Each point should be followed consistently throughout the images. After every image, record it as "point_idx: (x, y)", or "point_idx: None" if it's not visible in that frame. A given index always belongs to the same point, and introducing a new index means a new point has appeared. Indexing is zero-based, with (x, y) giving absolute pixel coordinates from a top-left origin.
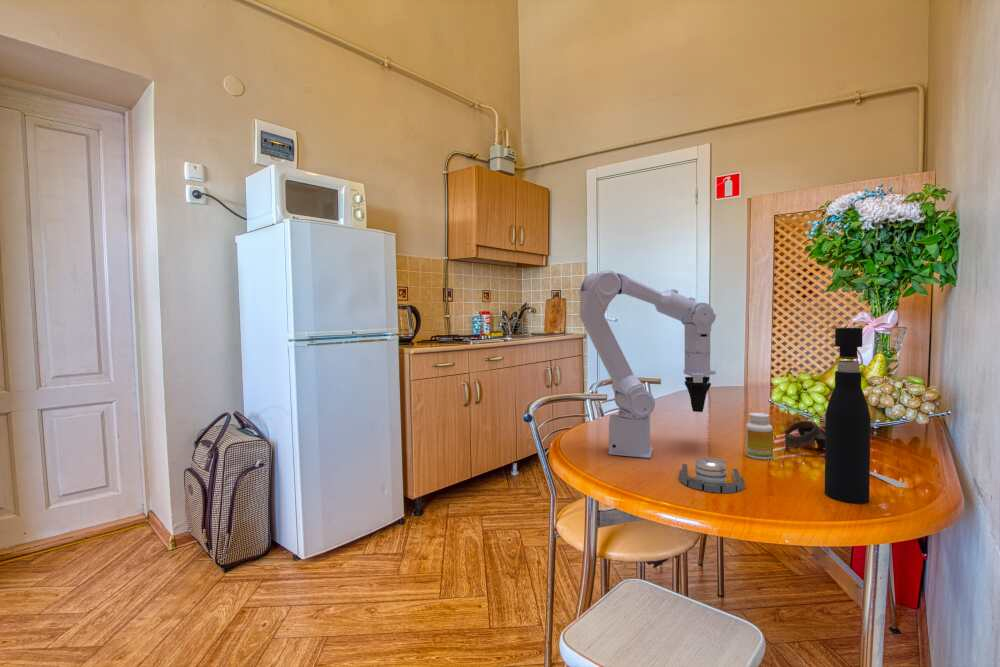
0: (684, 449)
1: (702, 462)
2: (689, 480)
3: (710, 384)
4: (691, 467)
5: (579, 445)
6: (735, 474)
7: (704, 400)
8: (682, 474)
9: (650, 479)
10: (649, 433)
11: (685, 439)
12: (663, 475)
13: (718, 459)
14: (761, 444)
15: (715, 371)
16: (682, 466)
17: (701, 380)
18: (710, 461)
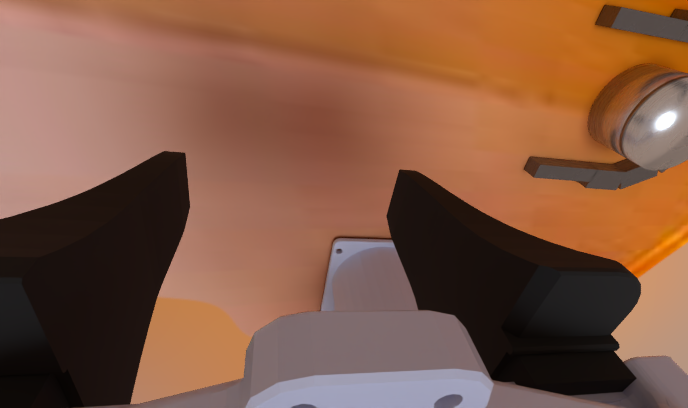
0: (309, 145)
1: (680, 153)
2: (660, 170)
3: (632, 275)
4: (509, 143)
5: None
6: (665, 32)
7: (468, 206)
8: (616, 182)
9: (578, 235)
10: (410, 291)
11: (141, 127)
12: (559, 212)
13: (675, 100)
14: None
15: (457, 374)
16: (557, 178)
17: (684, 386)
18: (682, 129)
